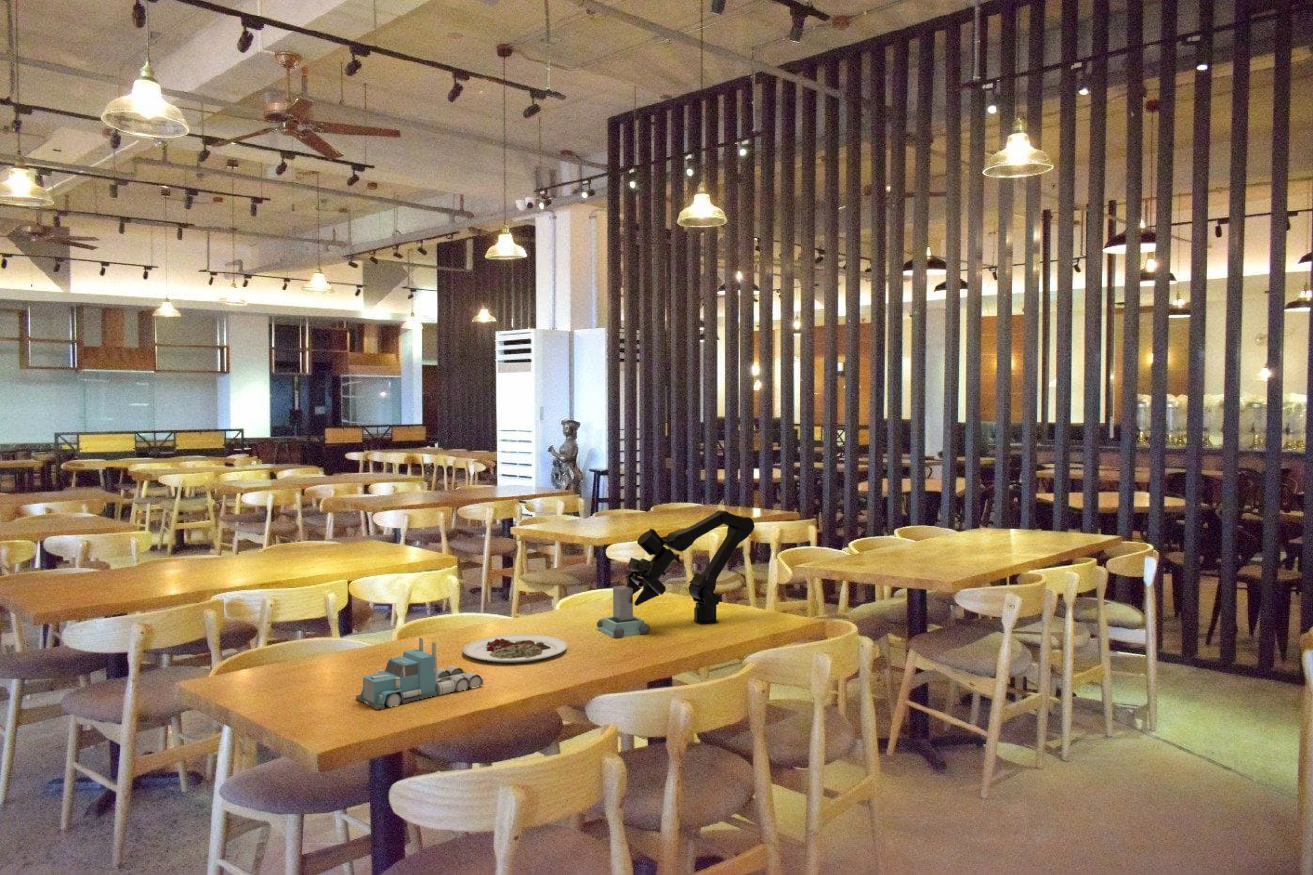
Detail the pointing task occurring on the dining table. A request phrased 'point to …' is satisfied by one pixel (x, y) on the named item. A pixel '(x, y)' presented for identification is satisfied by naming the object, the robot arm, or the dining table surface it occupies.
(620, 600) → the grey upright pillar
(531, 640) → the plated food
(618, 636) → the chassis
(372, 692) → the truck
